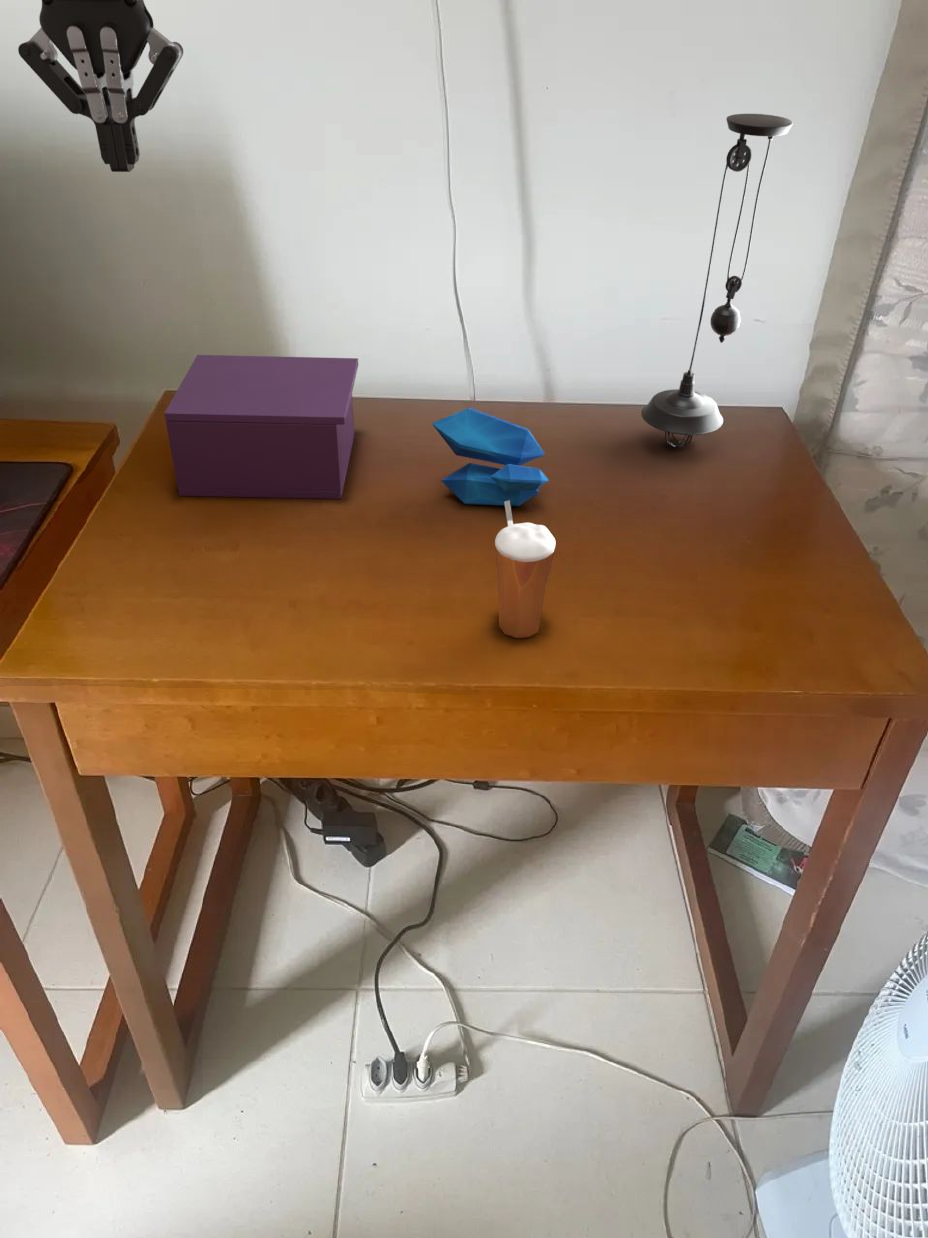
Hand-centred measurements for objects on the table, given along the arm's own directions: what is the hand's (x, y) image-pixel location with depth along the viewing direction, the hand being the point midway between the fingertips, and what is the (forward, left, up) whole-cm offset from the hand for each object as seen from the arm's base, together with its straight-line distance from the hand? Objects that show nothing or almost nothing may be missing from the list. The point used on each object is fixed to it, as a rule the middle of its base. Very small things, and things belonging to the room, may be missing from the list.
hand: (123, 169), depth 83 cm
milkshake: (+34, -26, -28) cm, 51 cm away
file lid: (+10, 0, -20) cm, 22 cm away
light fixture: (+53, +6, -28) cm, 60 cm away
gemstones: (+32, -6, -28) cm, 43 cm away
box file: (+10, 0, -28) cm, 29 cm away
